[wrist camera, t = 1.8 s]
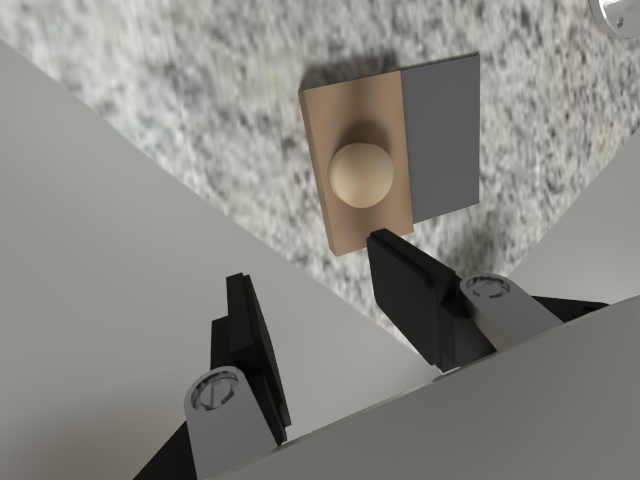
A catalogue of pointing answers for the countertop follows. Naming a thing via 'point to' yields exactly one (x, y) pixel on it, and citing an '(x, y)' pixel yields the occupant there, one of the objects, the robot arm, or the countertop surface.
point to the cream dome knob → (360, 174)
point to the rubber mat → (442, 135)
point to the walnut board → (364, 127)
